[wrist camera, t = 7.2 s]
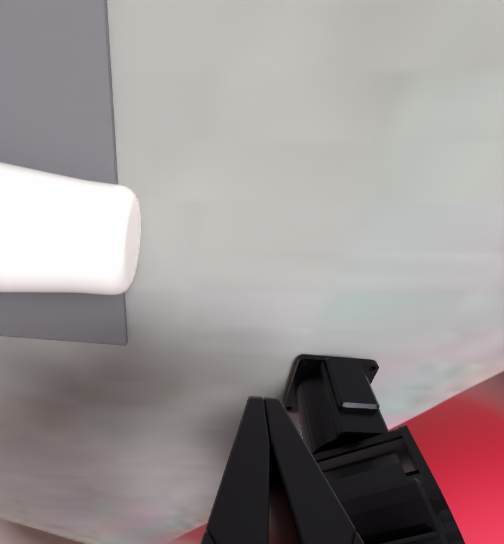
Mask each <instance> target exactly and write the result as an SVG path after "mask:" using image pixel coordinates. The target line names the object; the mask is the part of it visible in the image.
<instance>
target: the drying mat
mask: <svg viewBox="0 0 504 544" xmlns="http://www.w3.org/2000/svg"><path fill="white" fill-rule="evenodd" d="M0 162H3V163H8V164H13V165H17V166H22V167H26V168H31V169H36V170H40V171H45V172H50V173H55V174H59V175H64V176H69V177H74V178H79V179H83V180H89V181H96V182H103V183H111V184H117V185H118V176H117V160H116V144H115V127H114V111H113V94H112V78H111V62H110V45H109V29H108V13H107V0H0ZM0 336H9V337H23V338H36V339H49V340H62V341H75V342H88V343H101V344H114V345H126V344H127V342H128V340H127V324H126V307H125V292H124V293H121V294H119V295H99V294H85V293H0Z"/></svg>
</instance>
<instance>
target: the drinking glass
mask: <svg viewBox="0 0 504 544" xmlns="http://www.w3.org/2000/svg"><path fill="white" fill-rule="evenodd" d="M140 237H141V214H140V206H139V201H138V198H137V196H136V194H135V193H134V192H133V191H132V190H131V189H130V188H128V187H126V186H123V185H117V184H111V183H103V182H96V181H89V180H83V179H79V178H74V177H69V176H64V175H59V174H55V173H50V172H45V171H40V170H36V169H31V168H26V167H22V166H17V165H13V164H8V163H3V162H0V293H85V294H99V295H119V294H121V293H124V292H125V291H126V290H127V289H128V288H129V287H130V285H131V283H132V281H133V278H134V275H135V272H136V267H137V262H138V256H139V248H140Z"/></svg>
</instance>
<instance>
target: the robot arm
mask: <svg viewBox="0 0 504 544" xmlns="http://www.w3.org/2000/svg"><path fill="white" fill-rule="evenodd" d="M303 361H305V362H303ZM378 369H379V366H378V364H377V362H376V361H374V360H364V359H352V358H339V357H326V356H313V355H302V356H300V357H298V359H297V362H296V365H295V368H294V372H293V375H292V378H291V381H290V384H289V387H288V390H287V393H286V396H285V399H284V402H283V404H282V403H281V401H280V400H279V399H278V398H277V397H264V399H263V397H261V396H250V397H249V398H248V400H247V403H246V406H245V409H244V412H243V416H242V419H241V422H240V425H239V428H238V431H237V434H236V437H235V440H234V443H233V446H232V449H231V452H230V456H229V459H228V462H227V465H226V468H225V471H224V474H223V477H222V480H221V483H220V486H219V489H218V492H217V496H216V499H215V502H214V505H213V508H212V511H211V514H210V517H209V520H208V523H207V527H206V532H204V535H203V538H202V541H201V544H465V542H464V540H463V538H462V535H461V533H460V531H459V528H458V526H457V524H456V522H455V520H454V518H453V515H452V513H451V511H450V509H449V507H448V505H447V503H446V501H445V499H444V497H443V495H442V493H441V490H440V489H439V486H438V485H437V483H436V481H435V479H434V477H433V475H432V473H431V471H430V469H429V467H428V465H427V464H426V462H425V460H424V458H423V456H422V454H421V452H420V450H419V448H418V447H417V445H416V443H415V441H414V439H413V437H412V435H411V433H410V431H409V429H408V427H407V426H406V425H403V426H400V427H398V429H396V430H392V431H388V428H387V426H386V424H385V421H384V419H383V417H382V414H381V412H380V410H379V404H378V401H377V399H376V397H375V395H374V392H373V390H372V388H371V385H370V384H371V382H372V380H373V378H374V376H375V375H376V373H377V371H378ZM287 412H298V415H299V420H300V425H301V430H302V436H303V439H302V437H301V435H300V433H299V432H298V430H297V428H296V427H295V425H294V423H293V421H292V420H291V418H290V416H289V415H288V413H287Z"/></svg>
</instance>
